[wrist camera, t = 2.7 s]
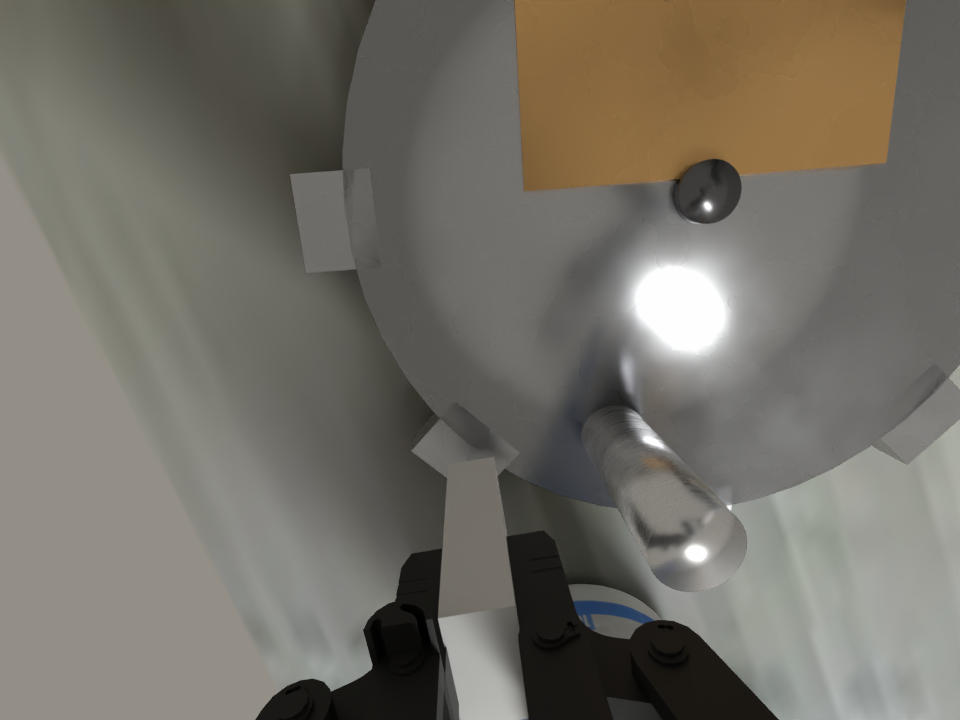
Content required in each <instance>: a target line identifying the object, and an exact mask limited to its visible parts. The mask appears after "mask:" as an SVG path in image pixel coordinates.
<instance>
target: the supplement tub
mask: <svg viewBox="0 0 960 720" xmlns="http://www.w3.org/2000/svg"><path fill="white" fill-rule="evenodd" d="M568 586H569V589H570V593H571V596H572V599H573V603H574V606H575V609H576V612H577V614H578V616H579V618H580V620H581V621H582V622H583V623H584V624H585V625H586V626H587V627H589V628H590V629H591V630H593V631H595V632H597V633H600V634H602V635H605V636H610V637H616V638H624V639H630V638H631V636H632V634H633V633H634V631H635V629H636V628H638V627H640V626H641V625H643V624H644V623H646V622H651V621H656V620H661V619H660V617H659V616H658V615H657V614H656V613H655V612H654V611H653V610H652V609H651V608H649V607H648V606H647V605H646V604H644V603H643V602H641V601H640V600H638V599H637V598H635V597H633V596H631V595H629V594H627V593H625V592H622V591H620V590H617V589H613V588H609V587H605V586H600V585H592V584H571V585H568ZM522 720H529V718H528V719H522Z"/></svg>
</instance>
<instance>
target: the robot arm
mask: <svg viewBox="0 0 960 720" xmlns="http://www.w3.org/2000/svg"><path fill="white" fill-rule="evenodd" d="M363 631H364V635H365V638H366V642H367V646H368V649H369V653H370V657H371V661H372V664H373V666H372V670H370V671H369V672H368V673H366V674H365V675H364V676H362V677H361V678H359V679H357V680H355V681H353V682H351V683H349V684H347V685H345V686H343V687H340V688H338V689H336V690H334V691H332V692H331V691H330V689H329V688H328V686H327V685H326V684H325V683H324V682H322V681H319V680H315V679H308V680H301V681H298V682H296V683H293V684H291V685H289V686H287V687H285V688H284V689H282V690H281V691H280V692H278V693H277V694H276V695H274V696H273V697H272V698H271V700H270V701H269V702H268V703H267V704H266V705H265V707H264V708H263V709H262V710H261V712H260V714H259V715H258V717H257V718H256V720H459V717H460V720H522V719H528V718H529V720H779V719H778V718H777V717H776V716H775V715H774V714H773V713H772V712H771V711H770V710H769V709H768V708H767V707H766V706H765V705H764V704H763V703H762V702H761V700H760V699H759V698H758V697H757V696H756V695H755V694H754V693H753V692H752V691H751V690H750V689H749V688H748V687H747V686H746V685H745V684H744V683H743V681H742V680H741V679H740V678H739V677H738V676H737V675H736V674H735V673H734V672H733V671H732V670H731V669H730V668H729V667H728V666H727V665H726V664H725V662H724V661H723V660H722V659H721V658H720V657H719V656H718V655H717V654H716V653H715V652H714V651H713V650H712V649H711V648H710V647H709V646H708V644H707V643H706V642H705V641H704V640H703V639H702V638H701V637H700V636H699V635H698V634H696V633H695V632H694V631H692V630H691V629H690V628H689V627H687V626H684V625H682V624H679V623H677V622H674V621H666V620H656V621H651V622H646V623H644V624H643V625H641V626H640V627H638V628H636V629H635V631H634V633H633V634H632V636H631V638H630V639H624V638H616V637H610V636H605V635H602V634H600V633H597V632H595V631H593V630H591V629H590V628H589V627H587V626H586V625H585V624H584V623H583V622H582V621H581V620H580V618H579V616H578V614H577V612H576V609H575V606H574V603H573V599H572V596H571V593H570V589H569V586H568V583H567V580H566V576H565V573H564V570H563V567H562V563H561V560H560V557H559V553H558V550H557V547H556V543H555V541H554V540H553V539H552V538H551V537H550V536H549V535H548V534H547V533H546V532H544V531H538V532H532V533H526V534H520V535H514V536H507V529H506V524H505V518H504V512H503V506H502V500H501V494H500V488H499V483H498V477H497V471H496V465H495V459H494V457H489V458H483V459H477V460H471V461H465V462H459V463H453V464H448V473H447V488H446V503H445V518H444V533H443V548H442V549H437V550H431V551H425V552H419V553H413V554H411V555H410V557H409V558H408V560H407V561H406V562H405V564H404V565H403V566H402V568H401V573H400V579H399V586H398V589H397V598H396V600H395V602H392V603H389V604H387V605H386V606H384V607H382V608H381V609H379V610H377V611H376V612H375V614H374V615H373V616H372V617H371V618H370V619H369V620H368V622H367V624H366V626H365V628H364V630H363Z"/></svg>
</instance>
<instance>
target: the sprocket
mask: <svg viewBox="0 0 960 720" xmlns="http://www.w3.org/2000/svg"><path fill="white" fill-rule="evenodd" d="M342 162H343V170H338V171H325V172H313V173H300V174H290V178H291V184H292V190H293V197H294V203H295V209H296V215H297V221H298V227H299V234H300V240H301V246H302V252H303V258H304V264H305V271H306V273H315V272H328V271H341V270H354V269H356V270H357V273H358V277H359V280H360V283H361V287H362V290H363V294H364V297H365V300H366V302H367V304H368V307H369V309H370V311H371V313H372V316H373V318H374V320H375V323H376V325H377V327H378V329H379V332H380V334H381V336H382V339H383V340H384V342H385V344H386V345H387V347H388V349H389V350H390V352H391V354H392V355H393V357H394V359H395V360H396V362H397V364H398V365H399V367H400V369H401V370H402V372H403V374H404V375H405V377H406V378H407V380H408V381H409V382H410V383H411V385H412V386H413V387H414V388H415V390H416V391H417V392H418V393H419V395H420V396H421V397H422V398H423V400H424V401H425V402H426V404H427V405H428V406H429V407H430V409H431V410H432V411H433V412H434V414H433V415H432V416H431V418H430V419H429V420H428V421H427V422H426V423H425V424H424V425H423V427H422V428H421V429H420V430H419V431H418V432H417V433H416V435H415V439H414V442H413V446H412V450H411V451H412V452H413V453H414V454H416V455H417V456H418V457H420V458H421V459H422V460H424V461H425V462H426V463H428V464H429V465H430V466H431V467H433V468H434V469H435V470H437V471H438V472H439V473H441V474H442V475H443V476H445V477H446V478H447V473H448V464H453V463H459V462H465V461H471V460H477V459H483V458H489V457H494V459H495V465H496V471H497V477H498V476H499V474H500V473H501V472H502V471H503V470H504V469H506V470H508V471H510V472H511V473H513V474H515V475H517V476H518V477H520V478H522V479H524V480H526V481H528V482H530V483H533V484H535V485H537V486H540V487H542V488H545V489H547V490H550V491H552V492H555V493H557V494H560V495H562V496H566V497H569V498H573V499H577V500H581V501H584V502H588V503H592V504H596V505H599V506H606V507H613V508H618V510H619V512H620V514H621V516H622V517H623V519H624V521H625V523H626V525H627V526H628V528H629V530H630V532H631V534H632V536H633V537H634V539H635V541H636V543H637V545H638V546H639V548H640V550H641V552H642V554H643V556H644V557H645V559H646V561H647V563H648V565H649V566H650V568H651V570H652V572H653V574H654V575H655V576H656V578H657V579H658V580H659V581H661V582H662V583H663V584H665V585H666V586H668V587H670V588H672V589H675V590H679V591H684V592H698V591H704V590H708V589H711V588H713V587H716V586H718V585H720V584H721V583H723V582H725V581H726V580H727V579H729V578H730V577H731V576H732V575H733V574H734V573H735V572H736V571H737V569H738V568H739V567H740V565H741V563H742V561H743V559H744V557H745V554H746V550H747V536H746V532H745V529H744V527H743V525H742V523H741V522H740V520H739V519H738V518H737V517H736V516H735V515H734V514H733V513H732V512H731V505H732V504H737V503H741V502H746V501H750V500H755V499H758V498H761V497H764V496H767V495H770V494H773V493H776V492H779V491H782V490H785V489H788V488H791V487H794V486H796V485H799V484H801V483H803V482H805V481H807V480H809V479H812V478H814V477H816V476H818V475H820V474H822V473H825V472H827V471H829V470H831V469H833V468H835V467H837V466H838V465H840V464H842V463H843V462H845V461H847V460H848V459H850V458H852V457H853V456H855V455H857V454H858V453H860V452H862V451H863V450H865V449H867V448H868V447H870V446H871V445H872V446H873V447H874V448H876V449H878V450H880V451H882V452H884V453H886V454H888V455H890V456H891V457H893V458H895V459H897V460H899V461H901V462H903V463H905V464H907V465H908V464H909V463H910V462H911V461H912V460H914V459H915V458H916V457H917V456H918V455H919V454H920V453H922V452H923V451H924V450H925V449H926V448H927V447H928V446H930V445H931V444H932V443H933V442H934V441H935V440H936V439H938V438H939V437H940V436H941V435H942V434H943V433H944V432H946V431H947V430H948V429H949V428H950V427H951V426H952V425H953V424H955V423H956V422H957V421H958V420H959V419H960V389H959V388H958V387H957V386H956V385H955V384H954V383H953V382H952V381H951V380H950V379H949V378H948V377H949V376H950V375H951V374H952V373H953V372H954V370H955V369H956V368H957V367H958V366H959V365H960V0H375V3H374V6H373V9H372V12H371V14H370V17H369V20H368V23H367V26H366V29H365V32H364V34H363V37H362V40H361V43H360V46H359V49H358V53H357V58H356V63H355V67H354V72H353V76H352V81H351V85H350V90H349V95H348V99H347V107H346V118H345V129H344V140H343V151H342Z"/></svg>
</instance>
